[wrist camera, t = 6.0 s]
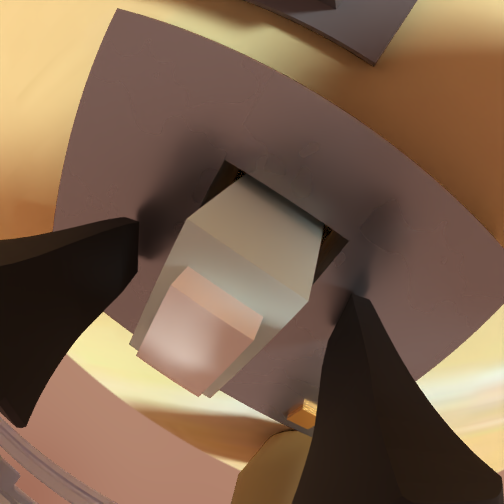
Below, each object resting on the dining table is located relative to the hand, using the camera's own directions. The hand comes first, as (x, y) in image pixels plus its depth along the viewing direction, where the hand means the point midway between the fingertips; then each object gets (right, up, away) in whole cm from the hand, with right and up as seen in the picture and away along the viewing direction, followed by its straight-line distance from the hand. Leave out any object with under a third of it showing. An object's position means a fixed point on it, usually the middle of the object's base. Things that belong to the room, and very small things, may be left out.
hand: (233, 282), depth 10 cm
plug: (+1, +2, +3) cm, 4 cm away
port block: (+1, +2, +3) cm, 3 cm away
